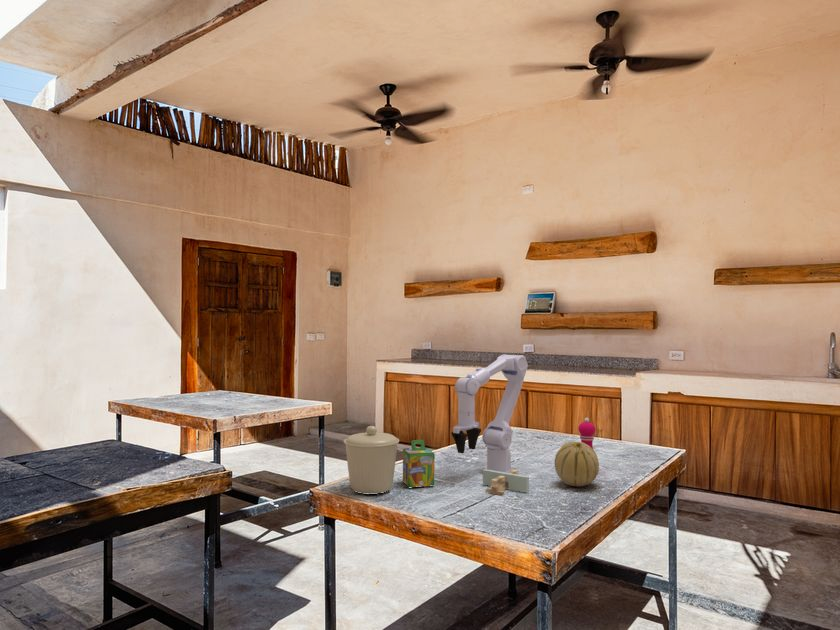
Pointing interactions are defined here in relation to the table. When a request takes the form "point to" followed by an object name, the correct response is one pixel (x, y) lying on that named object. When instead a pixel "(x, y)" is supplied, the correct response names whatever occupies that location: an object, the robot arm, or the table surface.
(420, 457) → the chalk box
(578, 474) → the cantaloupe
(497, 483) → the wooden rack
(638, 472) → the table surface
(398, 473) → the table surface
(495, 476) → the pale gray-green board
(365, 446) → the canister
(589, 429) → the pepper mill
